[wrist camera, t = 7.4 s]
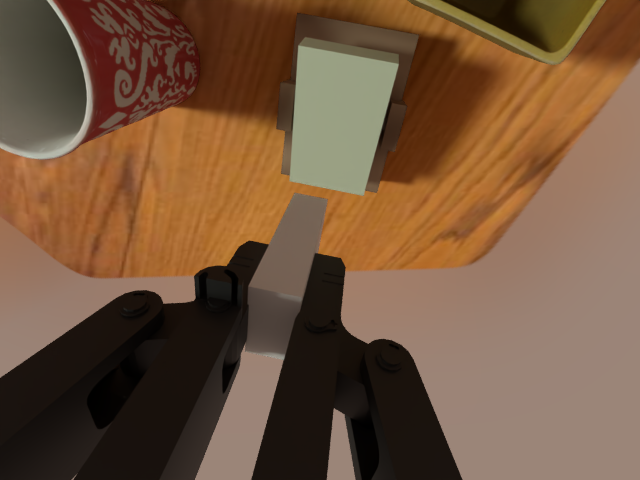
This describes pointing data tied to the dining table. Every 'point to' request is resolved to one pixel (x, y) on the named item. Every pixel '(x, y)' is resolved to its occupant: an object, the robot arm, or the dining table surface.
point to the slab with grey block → (359, 38)
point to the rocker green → (339, 113)
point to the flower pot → (522, 23)
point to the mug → (87, 70)
